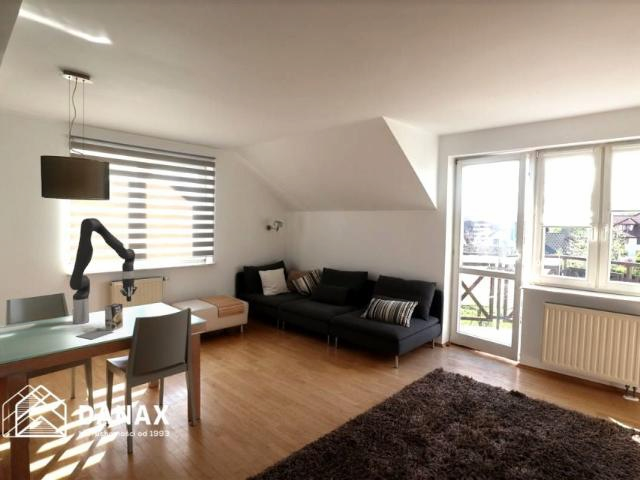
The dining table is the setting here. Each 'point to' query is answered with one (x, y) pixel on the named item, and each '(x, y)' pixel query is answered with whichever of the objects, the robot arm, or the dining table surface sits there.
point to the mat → (95, 334)
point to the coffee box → (113, 316)
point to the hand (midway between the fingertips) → (128, 301)
